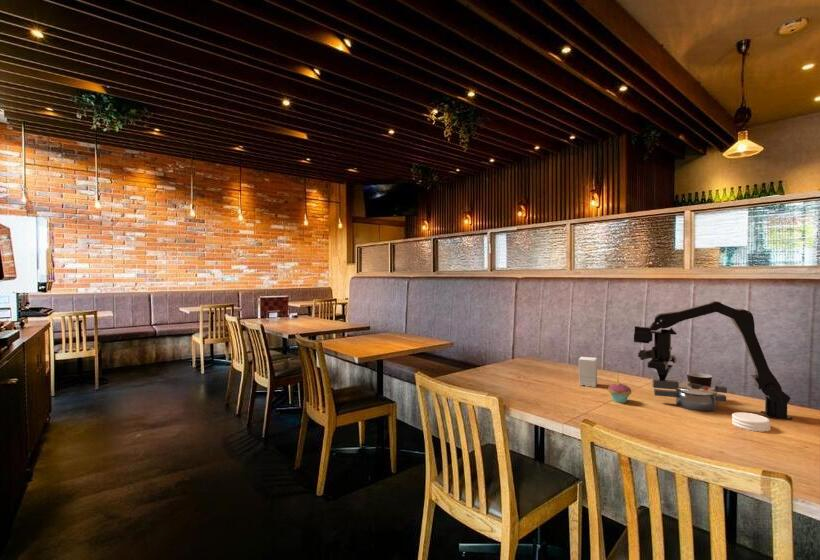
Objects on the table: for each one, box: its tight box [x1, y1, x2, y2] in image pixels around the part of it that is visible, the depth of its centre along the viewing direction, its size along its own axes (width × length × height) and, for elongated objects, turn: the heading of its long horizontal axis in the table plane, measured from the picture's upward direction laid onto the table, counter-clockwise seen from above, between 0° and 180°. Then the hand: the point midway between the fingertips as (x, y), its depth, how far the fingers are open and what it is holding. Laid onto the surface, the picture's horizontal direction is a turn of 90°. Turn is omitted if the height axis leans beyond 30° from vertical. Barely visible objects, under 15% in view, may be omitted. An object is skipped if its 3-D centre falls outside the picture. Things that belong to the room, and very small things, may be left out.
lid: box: [652, 378, 728, 395], centre depth 159 cm, size 24×14×3 cm, turn 70°
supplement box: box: [578, 356, 598, 388], centre depth 191 cm, size 7×7×13 cm
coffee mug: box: [686, 372, 713, 387], centre depth 169 cm, size 12×9×10 cm
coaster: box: [731, 411, 771, 433], centre depth 137 cm, size 10×10×4 cm
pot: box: [653, 388, 727, 413], centre depth 159 cm, size 24×13×6 cm, turn 68°
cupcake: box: [607, 373, 632, 404], centre depth 166 cm, size 9×8×12 cm
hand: (662, 382), depth 164 cm, fingers closed
